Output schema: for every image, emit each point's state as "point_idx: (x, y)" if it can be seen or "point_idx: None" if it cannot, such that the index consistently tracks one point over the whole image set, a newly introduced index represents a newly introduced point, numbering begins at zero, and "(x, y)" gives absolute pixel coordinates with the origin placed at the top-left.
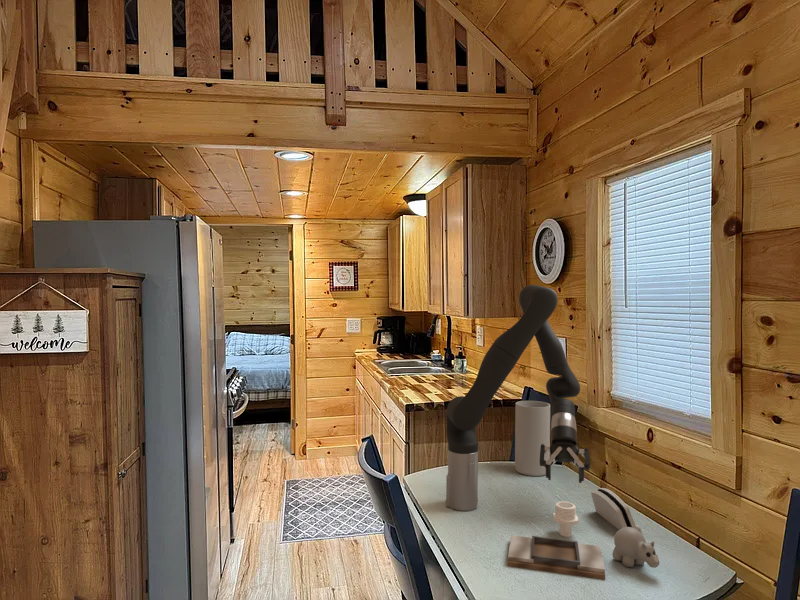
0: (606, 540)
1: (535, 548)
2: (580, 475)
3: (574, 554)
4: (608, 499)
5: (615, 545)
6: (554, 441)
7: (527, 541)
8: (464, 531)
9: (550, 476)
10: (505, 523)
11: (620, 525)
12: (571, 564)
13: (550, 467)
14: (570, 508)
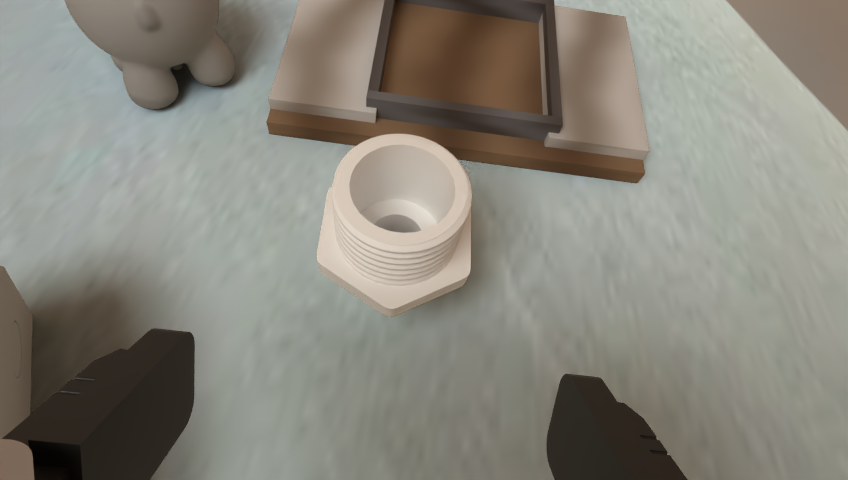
0: (187, 237)
1: (537, 93)
2: (143, 353)
3: (390, 67)
4: None
5: (218, 7)
6: None
7: (575, 108)
8: (845, 237)
9: (569, 376)
10: (705, 358)
11: (22, 322)
12: None
13: (624, 465)
14: (378, 137)
